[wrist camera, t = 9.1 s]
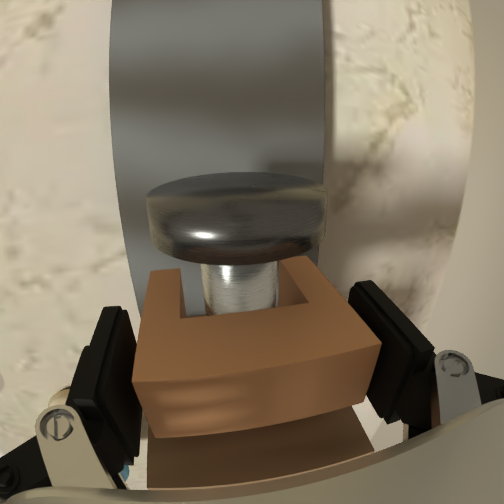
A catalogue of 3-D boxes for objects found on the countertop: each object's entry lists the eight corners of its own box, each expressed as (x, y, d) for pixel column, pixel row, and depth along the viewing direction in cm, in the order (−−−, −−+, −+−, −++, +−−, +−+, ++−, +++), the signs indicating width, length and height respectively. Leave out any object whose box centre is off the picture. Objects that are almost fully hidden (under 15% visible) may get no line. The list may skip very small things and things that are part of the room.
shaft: (157, 178, 11) (129, 223, 6) (295, 169, 12) (361, 207, 7) (201, 432, 17) (209, 501, 13) (280, 422, 18) (301, 487, 13)
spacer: (150, 271, 12) (131, 381, 6) (306, 255, 13) (381, 343, 8) (160, 322, 13) (155, 437, 7) (303, 305, 14) (363, 402, 9)
